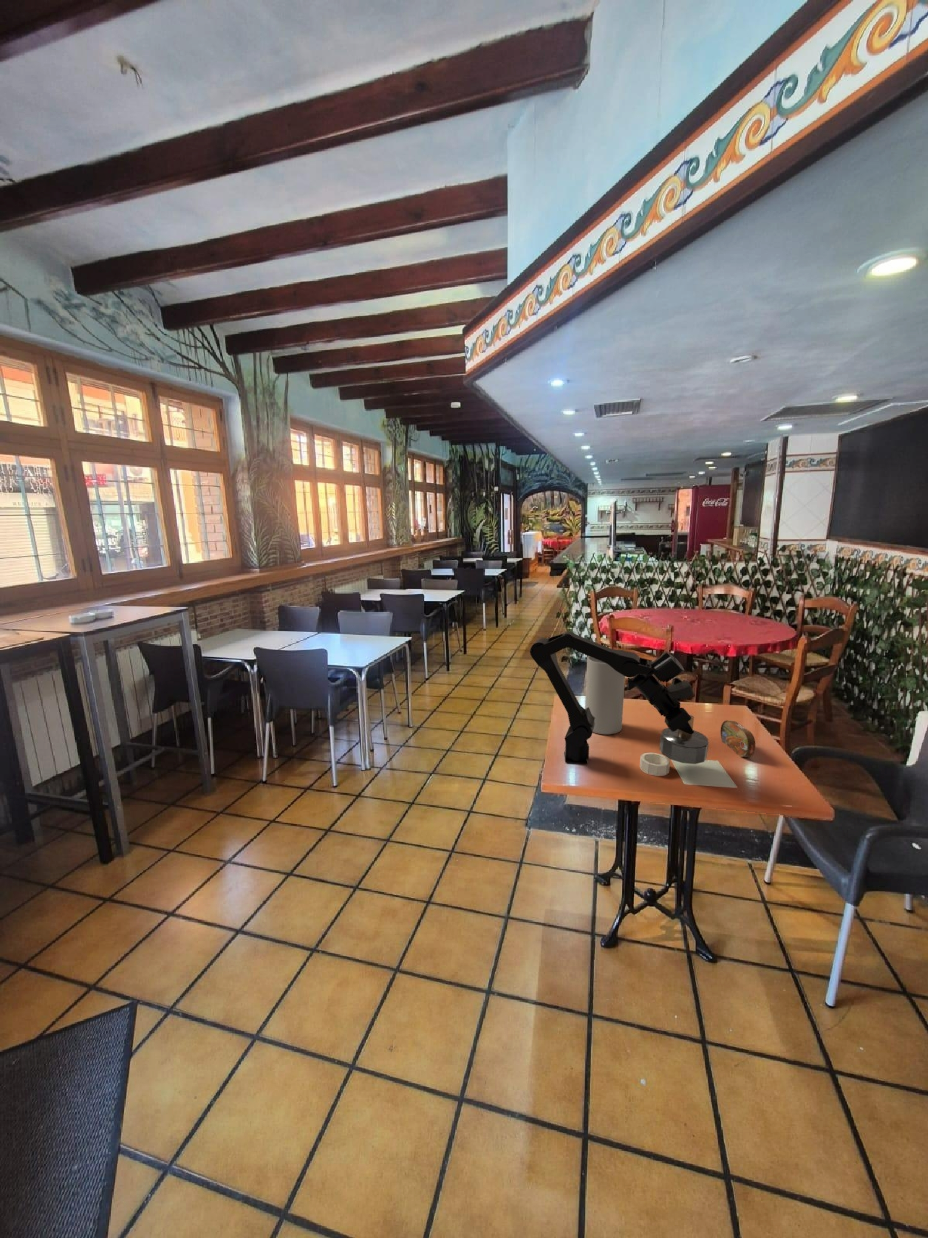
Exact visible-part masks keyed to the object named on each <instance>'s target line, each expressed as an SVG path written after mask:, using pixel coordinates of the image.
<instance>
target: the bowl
mask: <svg viewBox="0 0 928 1238" xmlns="http://www.w3.org/2000/svg"><path fill="white" fill-rule="evenodd" d="M639 758H640V759H639V768H640V769H641V772H644V773H645V774H647V775H651V776H653V777H654V776H656V777H661V776H667V775H668V774H669V773H670V766H671V764H670V763H671V760H670V759H669V758H668V757H666V756H664V755H663V754H662V753H661V754H660V753H656V752H644V753H642V754H641V755H640V757H639Z"/></svg>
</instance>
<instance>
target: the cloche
mask: <svg viewBox="0 0 928 1238" xmlns="http://www.w3.org/2000/svg"><path fill="white" fill-rule="evenodd" d="M689 715H690V716H691V717H692V718H691V720H689V721H688V723H689V724H690V726H691V728H692V729H693V728H694V722H695V721H694V720H695V717H694V716H693V715H692V714H689ZM693 731H694V733H693V734H689V733H686V732H684V731H681V730H679V729H677V730H676V731H674V732H672V731H671V730H670V729H669V728H668V727H667V728H664V729H663V730H662V731H661V733H660V740H659V747H658V748H659V752H660V753H661V755H663V756H665V757H667V758H668V759H669V760H670V761H671V760H674V761H678V762H681V763H688V764H698V763H702V762H704V761H705V760H707V758H708V753H709V752H708V751H709V744H710V742H709V739H708V737H707V736H706V735H704V734H703V733H701V732H700V731H697V730H694V729H693Z"/></svg>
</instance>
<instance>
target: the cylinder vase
mask: <svg viewBox="0 0 928 1238" xmlns="http://www.w3.org/2000/svg"><path fill="white" fill-rule="evenodd" d="M586 659H587V660H586V679H585V680H586V682H585V684H586V685H585V700H584V702H585V703H584V704H585V706H584V709H586V708H588V707H589V709H590V711H591V714H592V715H593V716H594V717H595V720H594V722H595V726H594V729H593V733H595V734H599V735H607V736H608V735H616V734H618V733H619V732H621V731H622V728H623V716H624V715H623V714H624V712H623V711H624V701H625V700H624V698H625V681H626V680H625V679H626V677H625V676H623V675H622V674H620V673H619V672H617V671H615V670H614V669H613V668H612V667H610V666H609V665H608V664H606V663H605V662H602V661H600V660H597V659H595V658H592V657H590V656H588V655H587V658H586Z"/></svg>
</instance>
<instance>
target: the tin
mask: <svg viewBox="0 0 928 1238" xmlns="http://www.w3.org/2000/svg"><path fill="white" fill-rule="evenodd" d="M720 738H721V742H722V743H724V744H725V745H726V746H728V748H730V749H731V750H732V751H733V752H734V753H735V754H736V755H738V756H739V757H740V758H750V757H753V755H754V753H755V749H756V739H755V736H754V735H753V733H752V732H751V731H750V730H748V729H747V728H746V727H744V726H743V725H741V724H740V723H739V722H737V721H734V720H727V719H726V720H724V721H723V722H722V724H721V727H720Z"/></svg>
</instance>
